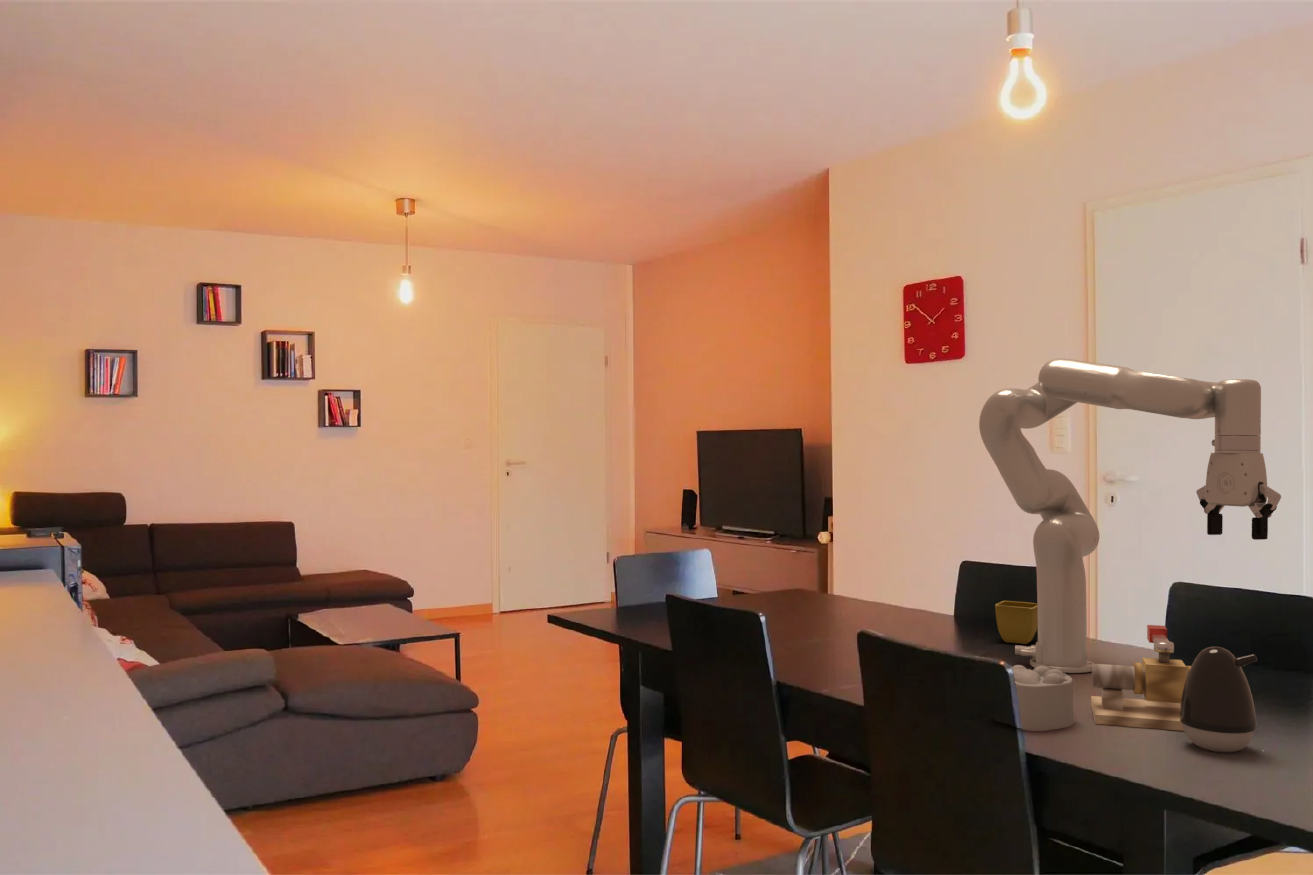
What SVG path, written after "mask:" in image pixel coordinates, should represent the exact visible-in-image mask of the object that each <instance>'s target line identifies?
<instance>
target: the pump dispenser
mask: <svg viewBox="0 0 1313 875" xmlns="http://www.w3.org/2000/svg"><path fill="white" fill-rule="evenodd" d="M1257 661H1258V658H1257V656H1256V654H1254V653H1252V654H1249V655H1248V654H1247V655H1244V656H1240V657H1235V655H1234V654H1233V653H1232V652H1231V651H1230V650H1228V649H1226V648H1224V647H1220V646H1209V647H1205V648H1204V649H1202V650H1201V651H1200V652H1199V653H1198V654H1197V656H1196V657H1195V659H1194V661H1193V662H1192V664H1191V665H1190V666H1191V668H1190V671H1189V673H1188V676H1187V678H1186V681H1185V684H1184V688H1183V693H1182V698H1181V705H1180V721H1181V723H1182V724H1183V728H1184V731H1183V732H1184V733H1185V735H1186V737H1187V738H1188V739H1189V740H1190V741H1191V742H1192V743H1193V744H1194V745H1196V746H1197V747H1199V748H1200V749H1203V750H1206V751H1210V752H1214V753H1215V752H1216V753H1234V752H1238V751H1241V750H1243V749H1245V748H1247V746H1248V745H1249V744H1250V742H1251V740H1252V738H1253V736H1254V733H1255V731H1256V730H1257V716H1256V709H1255V703H1254V699H1253V695H1252V692H1251V688H1250V685H1249V681H1248V679H1247V677H1246V675H1245V672H1244V670H1243V668H1242V667H1244V666H1248V665H1250V664H1253V663H1255V662H1257Z"/></svg>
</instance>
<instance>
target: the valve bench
mask: <svg viewBox="0 0 1313 875" xmlns="http://www.w3.org/2000/svg"><path fill="white" fill-rule="evenodd" d="M1191 666H1192V665H1186V664H1185V663H1184V661H1183V660H1182V659H1170V653H1159V652H1158V658H1154V657H1153V658H1151V657H1142V662H1133V663H1132V665H1120V664H1105V663H1104V664H1103V663H1094V664H1092V671H1091V676H1092V678H1091V680H1092V688H1093V689H1094V688H1096V689H1101V695H1099V696H1098V695H1096V696H1095V695H1090V706H1091V710H1092V715H1093V719H1094V724H1096V725H1107V726H1118V727H1119V726H1120V727H1130V728H1143V729H1144V728H1145V729H1155V730H1168V731H1169V730H1170V731H1180V732H1185V731H1184V728H1183V724H1182V723H1181V721H1180V705H1181V698H1182V693H1183V688H1184V684H1185V681H1186V678H1187V676H1188V673H1189V671H1190V668H1191ZM1124 690H1125V691H1133V694H1134V695H1141V696H1142V695H1143V696H1144V699H1139V698H1126V697H1125V698H1124V692H1123V691H1124Z"/></svg>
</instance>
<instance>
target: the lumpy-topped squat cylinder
mask: <svg viewBox="0 0 1313 875" xmlns="http://www.w3.org/2000/svg"><path fill="white" fill-rule="evenodd" d="M1011 668H1012V669H1013V673H1014V678H1015V683H1016V688H1017V694H1018V698H1019V709H1020V715H1021V722H1022V727H1023V731H1028V732H1029V731H1032V732H1045V731H1053V730H1058V729H1063V728H1069V727H1071V725H1073V724H1074V680H1073V678H1072V676H1070V675H1068V674H1067V673H1063V672H1062V671H1061V670H1059V669H1052V670H1051V669H1050V668H1048V667H1045V666H1038V667H1036V668H1033V669H1031V668H1029V669H1027V668H1026V667H1025V666H1024V665H1021V664H1015V665H1013V666H1012V667H1011Z"/></svg>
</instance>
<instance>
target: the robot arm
mask: <svg viewBox="0 0 1313 875" xmlns="http://www.w3.org/2000/svg"><path fill="white" fill-rule="evenodd" d="M1037 381H1038V382H1037V383H1035V384H1034V385H1032V386H1030V387H1029V388H1027V389H1023V388H1004V389H1001V390H1000V389H999V390H997V391H996V392H994V393H993V394H992V395H990V397H988V398H987V400H986V401H985V403H984V404H983V407H982V409H981V412H980V416H979V419H978V420H979V421H978V422H979V423H978V424H979V425H978V427H979V433H980V438H981V440H982V442H983V444H984V447H985V448H986V451H987V453H988V454H989V455H990V457H991V459H992V461H993V463H994V464H995V466H996V468H997V470H998V471H999V474H1000V476H1001V478H1002V479H1003V481H1004V482H1005V485H1006V487H1007V488H1008V490H1009V492H1010V493H1011V495H1012V498H1013V499H1014V502H1015V503H1016V505H1017V506H1018V508H1019V509H1020V510H1022V511H1023V512H1025V513H1027V514H1030V515H1040V516H1041V518H1042V521H1041V522H1040V523H1039V524H1038V525H1037V526H1036V528H1035V530H1034V533H1033V540H1032V544H1033V553H1034V560H1035V567H1036V568H1035V570H1036V592H1037V593H1036V594H1037V595H1036V596H1037V597H1036V600H1037V620H1038V628H1037V641H1036V642H1035V644H1031V645H1030V646H1026V645H1019V644H1018V645H1017V644H1015V645H1014V654H1015V655H1017V656H1019V655H1020V656H1023V657H1027V656H1028V657H1029V656H1030V657H1031V658H1030V660H1029V665H1030V666H1031V667H1033V669H1035V668H1036V667H1038V666H1045V667H1048V668H1050V669H1051V670H1052V669H1059V670H1061V671H1062V672H1063V674H1064V673H1065V674H1083V673H1092V664H1095V662H1093V661H1092V660H1088V648H1087V647H1088V643H1087V642H1088V641H1087V640H1088V639H1087V638H1088V637H1087V636H1088V633H1087V632H1088V631H1087V630H1088V629H1087V618H1088V617H1087V577H1086V576H1087V575H1086V568H1085V564H1084V557H1087V556H1089V555H1091V554H1092V553H1093V552H1095V550H1096V549H1097V547H1098V545H1099V543H1100V542H1099V541H1100V531H1099V530H1100V529H1099V527H1098V525H1097V523H1096V520H1095V519H1094V517H1093V515H1092V514H1091V512H1090V510H1089V509H1088V507H1087V505H1086V504H1085V501H1084V500H1083V498H1082V497H1081V495H1080V494H1079V492H1078V490H1077V489H1076V486H1075V485H1074V484H1073V483H1072V481H1071V480H1070V479H1069V477H1067V476H1066V475H1065V474H1063V473H1062V472H1060V471H1058V470H1055V469H1049V468H1048V469H1047V468H1046V466H1045V465H1044V464H1043V462H1042V460H1041V459H1040V457H1039V455H1038V454H1037V452H1036V450H1035V448H1034V446H1033V445H1032V444H1031V443H1030V441H1029V440H1028V439H1027V438H1026V436H1024V434H1023V432H1022V429H1029V430H1030V429H1034V428H1037V427H1040V426H1042V425H1043V424H1046V423H1047V422H1049V421H1050V420H1052V419H1054V418H1055V417H1056V416H1058V415H1061V413H1064V412H1065V411H1066V410H1069V408H1072V407H1073V406H1074V405H1075V404H1077V403H1080V404H1087V405H1093V406H1099V407H1104V408H1109V409H1110V408H1111V409H1115V410H1133V411H1138V412H1145V413H1149V414H1150V413H1151V414H1157V415H1161V416H1168V417H1174V418H1180V419H1189V420H1203V419H1204V420H1205V419H1211V418H1214V439H1213V440H1211V446H1212V447H1214V452H1210V456H1209V460H1208V464H1207V469H1206V478H1205V485H1204V486H1202V487H1200V488H1197V490H1196V495H1197V498H1198V500H1199V504H1200V506H1201V507H1202V509H1203V512H1204V514H1206V516H1207V517H1206V521H1207V523H1206V524H1207V525H1206V529H1207V530H1206V534H1207V535H1209V536H1220V535H1222V534H1223V528H1224V527H1223V525H1224V524H1223V521H1224V520H1223V517H1224V516H1223V513H1220V512H1221V511H1222V510H1223V509H1224V508H1225V506H1226V507H1227V506H1228V507H1241V508H1242V507H1244V508H1245V507H1248V508H1249V510H1250V511H1251V513H1253V516H1254V517H1251V518H1252V519H1251V539H1252V540H1257V541H1260V540H1263V541H1264V540H1268V536H1269V535H1268V534H1269V533H1268V532H1269V528H1268V527H1269V519H1270V518H1271V517H1272V514H1273V513H1274V512H1275V511H1276V510H1277V507H1278V504H1279V503H1280V502H1281V498H1282V495H1281V494H1280V493H1278V491H1276V490H1274V489H1272V488H1271V487H1270V486H1268V477H1267V469H1266V462H1265V457H1264V454H1263V453H1261V449H1262V448H1261V439H1262V438H1261V437H1262V436H1261V435H1262V432H1261V431H1262V429H1261V426H1262V425H1261V423H1262V421H1261V420H1262V417H1261V416H1262V411H1261V410H1262V406H1261V405H1262V387H1261V383H1259V381H1258V380H1257V381H1256V380H1254V379H1242V378H1241V379H1238V378H1237V379H1224V380H1220V381H1218V382H1214V381H1213V382H1212V381H1206V380H1205V381H1204V380H1198V379H1194V378H1187V377H1182V376H1181V377H1180V376H1173V375H1166V374H1160V373H1153V372H1152V373H1150V372H1146V371H1138V370H1135V369H1131V368H1129V367H1125V366H1120V365H1112V364H1104V363H1097V362H1090V361H1084V360H1076V359H1070V358H1069V359H1068V358H1054V359H1051V360H1049V361H1048V362H1045V363H1044V364H1043V366H1042V367H1041V369H1040V370H1039V373H1038V380H1037Z"/></svg>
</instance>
